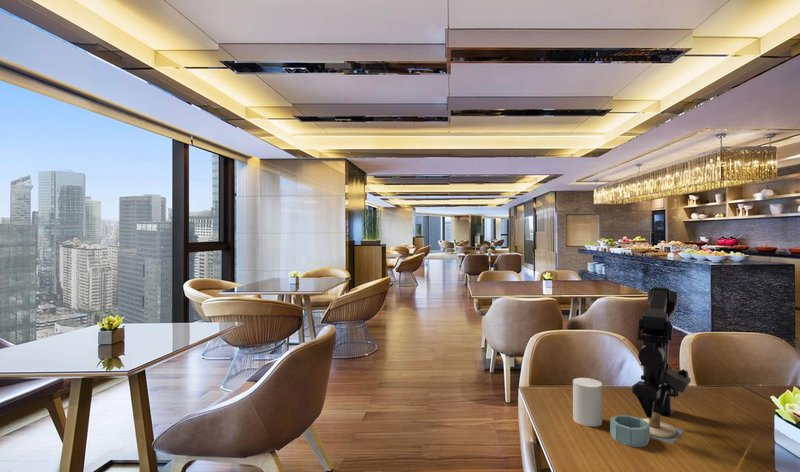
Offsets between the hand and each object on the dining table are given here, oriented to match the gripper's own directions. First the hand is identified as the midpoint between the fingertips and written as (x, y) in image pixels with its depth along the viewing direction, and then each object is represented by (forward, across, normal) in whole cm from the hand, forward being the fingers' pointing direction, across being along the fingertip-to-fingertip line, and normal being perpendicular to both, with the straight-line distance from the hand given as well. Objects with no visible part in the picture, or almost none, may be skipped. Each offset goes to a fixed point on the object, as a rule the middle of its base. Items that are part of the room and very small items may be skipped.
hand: (654, 412), depth 124 cm
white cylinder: (+6, -8, +16) cm, 19 cm away
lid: (+5, 0, 0) cm, 5 cm away
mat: (+5, 0, 0) cm, 5 cm away
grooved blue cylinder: (+5, -11, +3) cm, 13 cm away
